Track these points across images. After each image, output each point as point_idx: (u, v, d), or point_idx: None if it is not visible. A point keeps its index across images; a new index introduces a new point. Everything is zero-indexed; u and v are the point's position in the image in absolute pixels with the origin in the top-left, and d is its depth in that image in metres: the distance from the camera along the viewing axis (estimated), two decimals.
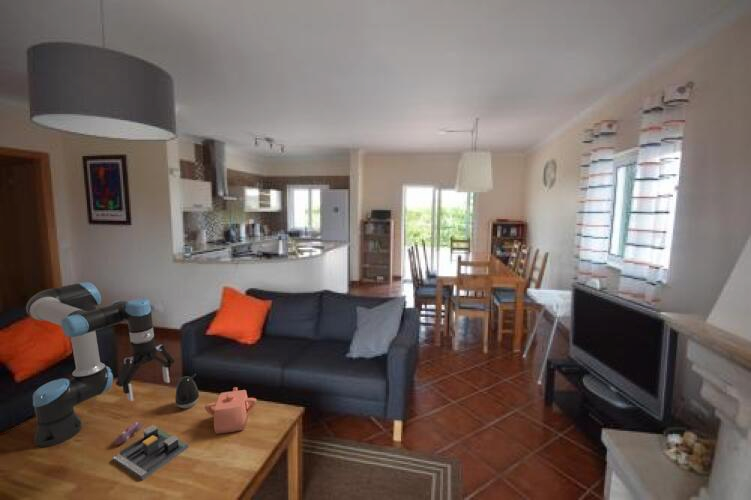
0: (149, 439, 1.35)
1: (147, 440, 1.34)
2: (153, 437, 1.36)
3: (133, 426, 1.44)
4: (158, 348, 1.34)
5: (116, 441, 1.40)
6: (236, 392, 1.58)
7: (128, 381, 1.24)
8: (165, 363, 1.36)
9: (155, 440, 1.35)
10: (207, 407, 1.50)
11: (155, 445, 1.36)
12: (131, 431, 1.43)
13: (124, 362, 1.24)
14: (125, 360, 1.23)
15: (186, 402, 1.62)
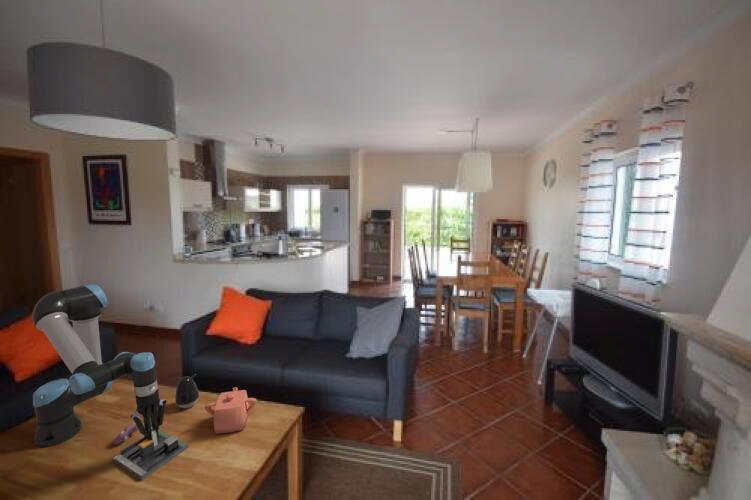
0: (145, 442, 1.34)
1: (143, 443, 1.33)
2: None
3: (131, 426, 1.44)
4: (161, 401, 1.37)
5: (114, 441, 1.40)
6: (236, 392, 1.58)
7: (149, 429, 1.33)
8: (156, 424, 1.36)
9: (151, 442, 1.34)
10: (207, 407, 1.50)
11: (151, 448, 1.34)
12: (129, 431, 1.43)
13: (133, 419, 1.29)
14: None
15: (186, 402, 1.62)
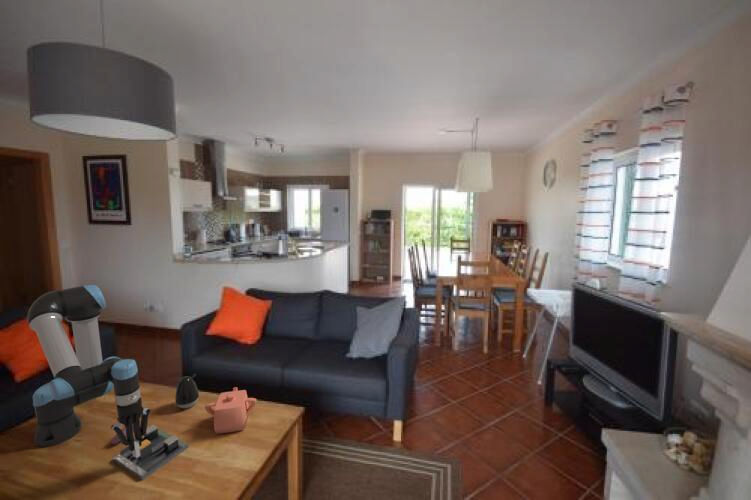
0: (142, 443, 1.33)
1: None
2: (146, 441, 1.34)
3: None
4: (144, 410, 1.32)
5: (112, 441, 1.41)
6: (236, 392, 1.58)
7: (132, 440, 1.28)
8: (139, 434, 1.30)
9: (148, 444, 1.33)
10: (207, 407, 1.50)
11: (148, 449, 1.33)
12: None
13: None
14: (113, 429, 1.23)
15: (186, 402, 1.62)
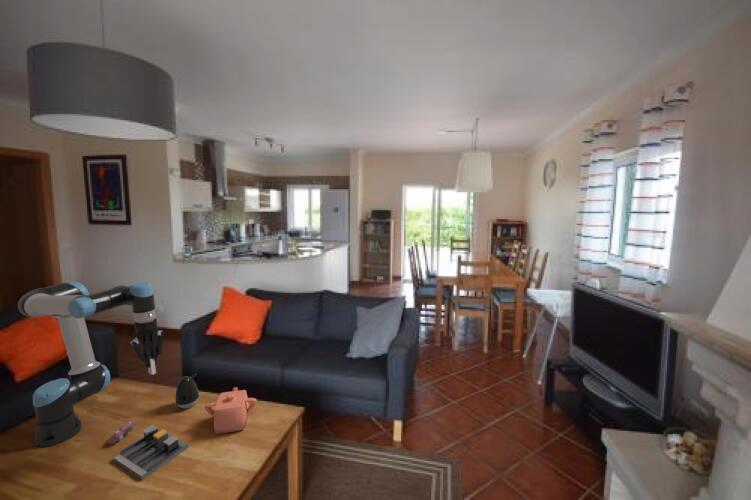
0: (159, 433, 1.38)
1: (157, 434, 1.38)
2: (163, 431, 1.40)
3: (126, 425, 1.45)
4: (159, 332, 1.43)
5: (109, 440, 1.41)
6: (236, 392, 1.58)
7: (148, 357, 1.39)
8: (154, 352, 1.41)
9: (165, 433, 1.39)
10: (207, 407, 1.50)
11: (165, 439, 1.39)
12: (124, 430, 1.44)
13: (132, 345, 1.34)
14: (131, 344, 1.33)
15: (186, 402, 1.62)
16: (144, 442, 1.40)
